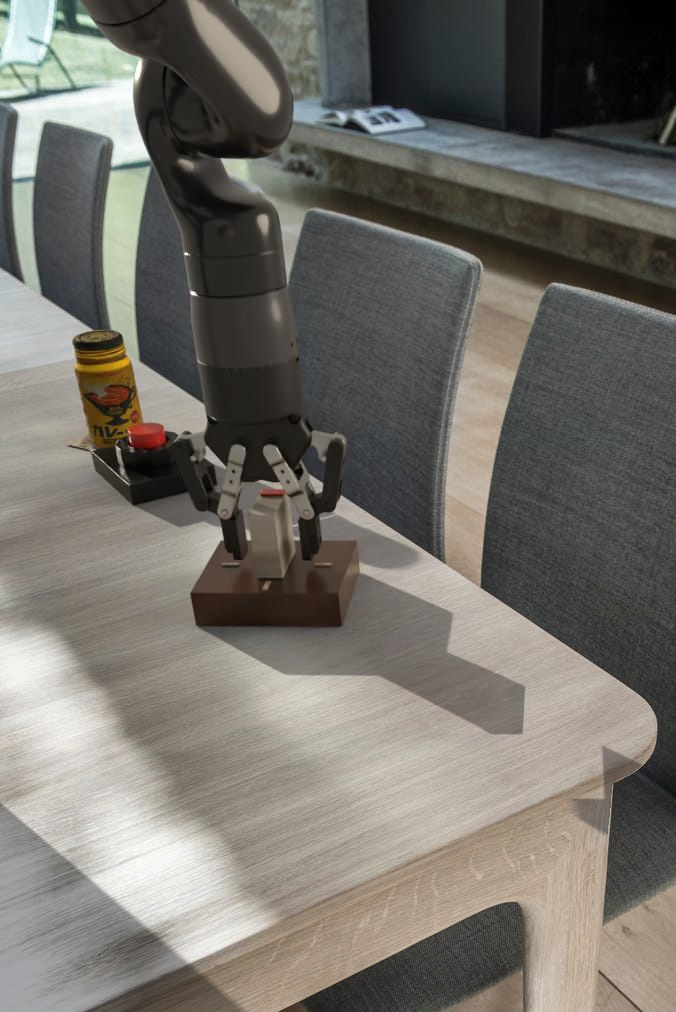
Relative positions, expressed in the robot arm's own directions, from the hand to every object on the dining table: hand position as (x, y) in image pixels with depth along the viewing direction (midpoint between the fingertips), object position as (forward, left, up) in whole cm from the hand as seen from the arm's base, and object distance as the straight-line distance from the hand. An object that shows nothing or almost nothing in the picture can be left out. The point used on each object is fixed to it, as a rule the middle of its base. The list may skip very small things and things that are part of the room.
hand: (275, 555), depth 95 cm
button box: (-19, +27, -4) cm, 33 cm away
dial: (0, 0, -1) cm, 1 cm away
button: (-19, +27, 0) cm, 33 cm away
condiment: (-27, +38, -4) cm, 47 cm away
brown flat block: (0, 0, -4) cm, 4 cm away
